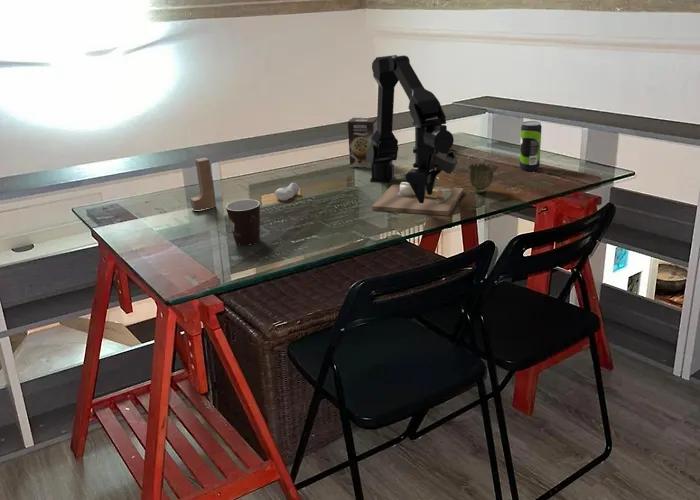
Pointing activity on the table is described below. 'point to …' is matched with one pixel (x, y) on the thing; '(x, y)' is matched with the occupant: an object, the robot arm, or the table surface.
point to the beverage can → (530, 145)
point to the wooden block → (204, 186)
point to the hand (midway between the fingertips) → (425, 198)
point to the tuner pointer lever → (407, 191)
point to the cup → (481, 176)
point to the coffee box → (360, 140)
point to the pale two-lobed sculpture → (287, 192)
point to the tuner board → (411, 204)
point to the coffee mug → (245, 221)
